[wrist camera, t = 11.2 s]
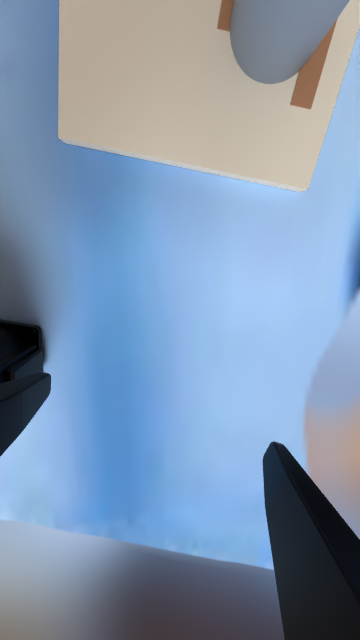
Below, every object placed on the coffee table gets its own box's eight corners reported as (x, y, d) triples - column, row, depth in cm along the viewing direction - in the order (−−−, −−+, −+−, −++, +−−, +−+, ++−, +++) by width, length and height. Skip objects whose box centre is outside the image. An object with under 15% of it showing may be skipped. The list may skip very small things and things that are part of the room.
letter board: (65, 143, 17) (57, 136, 16) (70, -162, 12) (60, -199, 11) (301, 192, 18) (308, 189, 17) (384, -76, 13) (401, -103, 12)
